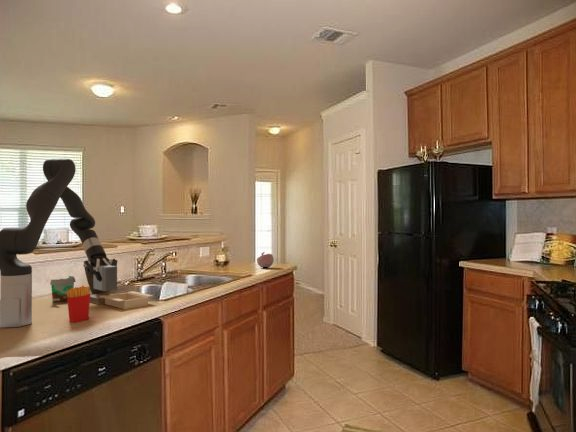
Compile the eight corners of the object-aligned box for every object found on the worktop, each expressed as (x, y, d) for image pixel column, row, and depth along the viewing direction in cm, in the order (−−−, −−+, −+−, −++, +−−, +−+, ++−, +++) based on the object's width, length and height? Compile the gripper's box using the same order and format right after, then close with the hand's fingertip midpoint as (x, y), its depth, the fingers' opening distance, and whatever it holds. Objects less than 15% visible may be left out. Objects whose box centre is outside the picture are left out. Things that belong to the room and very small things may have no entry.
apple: (266, 266, 322) (266, 251, 322) (277, 268, 312) (277, 252, 312) (253, 268, 314) (253, 252, 314) (263, 269, 305) (263, 253, 305)
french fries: (85, 317, 162) (84, 284, 162) (92, 318, 160) (92, 285, 160) (64, 322, 155) (64, 288, 155) (71, 323, 153) (71, 288, 153)
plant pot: (84, 292, 215) (84, 259, 215) (117, 290, 220) (117, 258, 220) (82, 297, 201) (82, 262, 201) (117, 295, 206) (117, 261, 206)
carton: (118, 312, 171) (118, 300, 171) (98, 306, 182) (98, 296, 182) (153, 306, 182) (153, 295, 182) (133, 301, 193) (133, 291, 193)
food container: (62, 303, 188) (62, 280, 188) (50, 303, 189) (50, 279, 189) (81, 298, 200) (81, 276, 200) (69, 297, 201) (69, 275, 201)
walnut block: (98, 306, 182) (98, 298, 182) (85, 302, 190) (85, 295, 190) (125, 301, 191) (125, 294, 191) (111, 298, 199) (111, 291, 199)
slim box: (105, 291, 185) (105, 267, 185) (93, 288, 192) (93, 265, 192) (117, 289, 189) (117, 266, 189) (104, 287, 196) (104, 264, 196)
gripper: (80, 245, 190) (93, 275, 182) (112, 243, 201) (126, 272, 193) (75, 256, 194) (87, 287, 186) (106, 254, 204) (119, 283, 197)
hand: (107, 279), depth 190 cm, fingers closed on slim box, 5 cm apart
